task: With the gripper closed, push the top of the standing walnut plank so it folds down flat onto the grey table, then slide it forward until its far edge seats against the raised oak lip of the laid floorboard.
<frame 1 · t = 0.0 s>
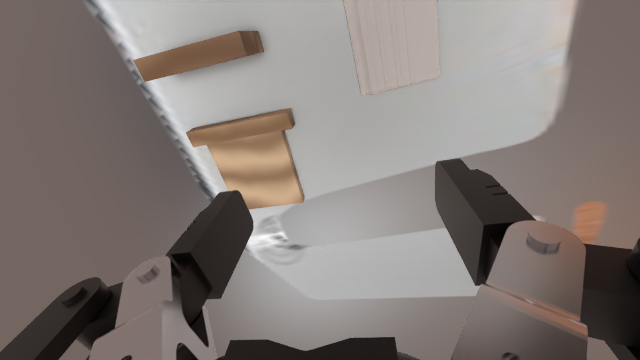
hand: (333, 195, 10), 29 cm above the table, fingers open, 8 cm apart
floor edge: (239, 118, 40), on the table
plank: (215, 53, 35), on the table
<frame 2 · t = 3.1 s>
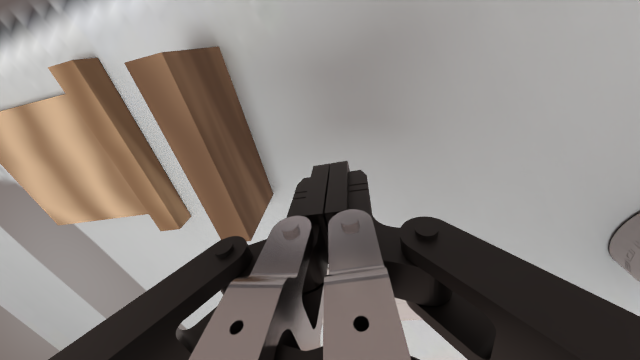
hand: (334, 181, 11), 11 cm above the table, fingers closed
baseboard molding: (343, 285, 34), on the table
floor edge: (151, 149, 25), on the table
plank: (238, 133, 23), on the table
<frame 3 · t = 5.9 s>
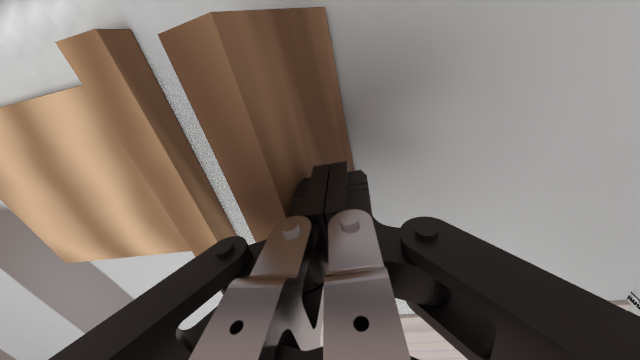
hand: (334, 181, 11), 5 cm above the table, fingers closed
baseboard molding: (428, 330, 27), on the table
floor edge: (200, 165, 18), on the table
plank: (330, 144, 16), on the table, tilted 21°
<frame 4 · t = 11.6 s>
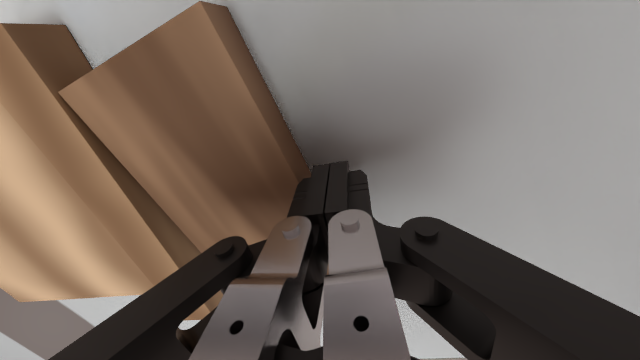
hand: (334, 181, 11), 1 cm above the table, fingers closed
floor edge: (170, 195, 14), on the table
plank: (303, 169, 12), point 1 cm above the table, tilted 90°, touching gripper
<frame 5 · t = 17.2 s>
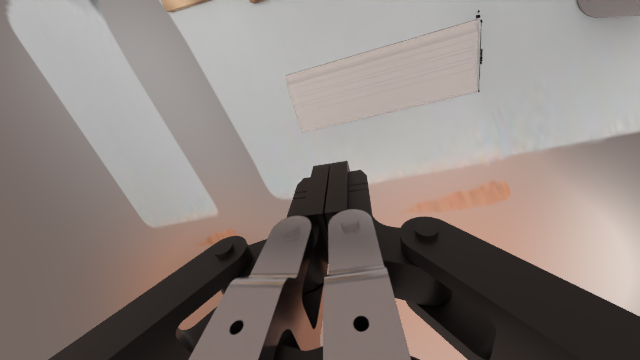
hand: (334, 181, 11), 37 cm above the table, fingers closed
baseboard molding: (377, 77, 44), on the table
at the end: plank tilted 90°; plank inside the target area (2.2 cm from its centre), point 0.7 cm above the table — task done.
